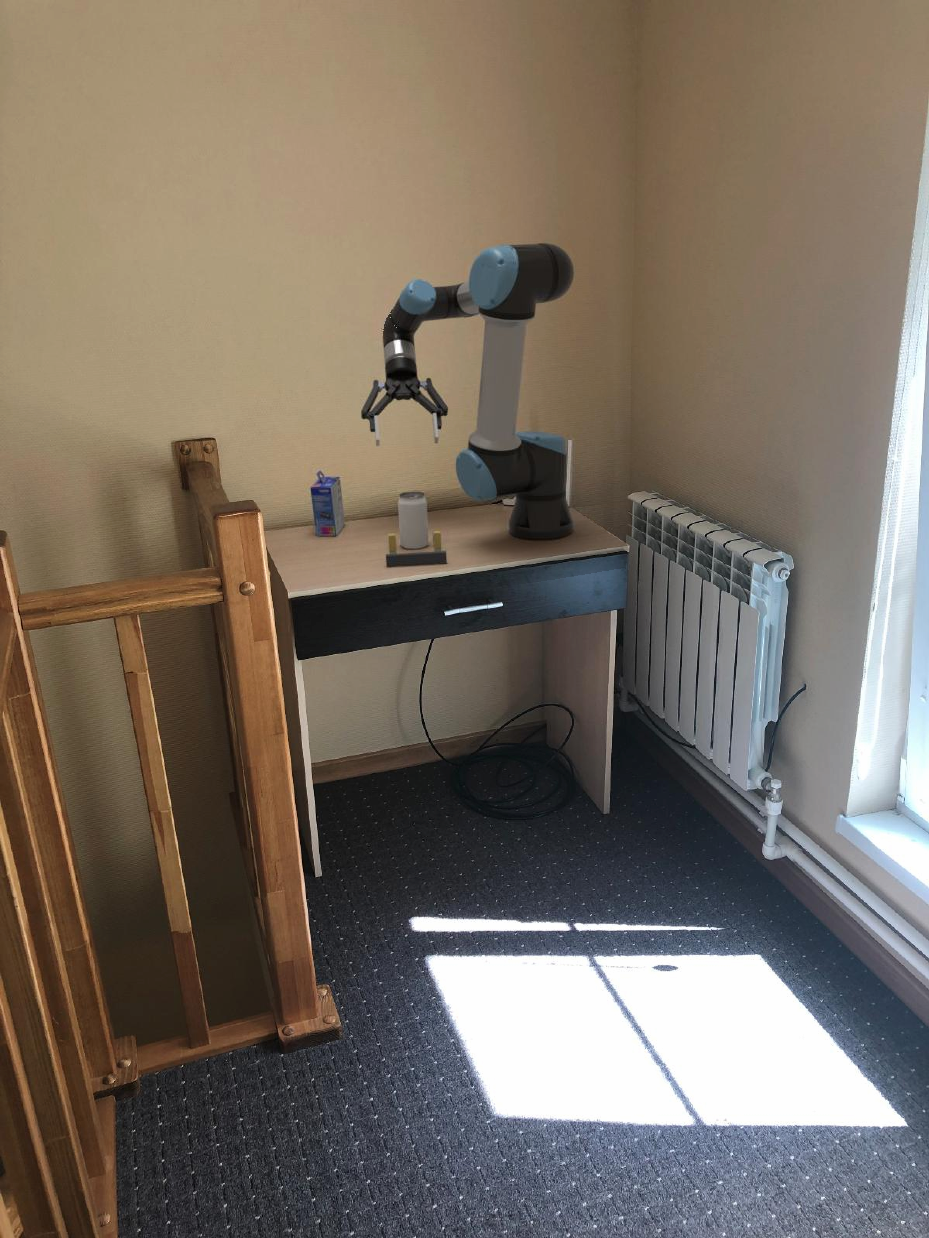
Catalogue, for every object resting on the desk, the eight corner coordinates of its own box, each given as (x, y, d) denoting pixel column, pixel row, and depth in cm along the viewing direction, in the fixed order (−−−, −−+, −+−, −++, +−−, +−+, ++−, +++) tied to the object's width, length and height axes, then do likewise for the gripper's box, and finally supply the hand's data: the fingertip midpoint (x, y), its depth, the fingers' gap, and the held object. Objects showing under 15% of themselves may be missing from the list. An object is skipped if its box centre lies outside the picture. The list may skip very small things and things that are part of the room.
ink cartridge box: (323, 524, 253) (318, 467, 248) (345, 524, 252) (340, 466, 247) (314, 536, 244) (308, 477, 239) (337, 536, 243) (331, 476, 238)
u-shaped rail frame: (441, 537, 240) (440, 516, 238) (446, 563, 222) (445, 541, 220) (386, 540, 239) (384, 520, 237) (386, 567, 221) (385, 544, 219)
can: (434, 546, 234) (431, 495, 229) (409, 551, 230) (406, 499, 226) (419, 539, 239) (417, 489, 234) (395, 544, 236) (392, 494, 231)
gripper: (451, 372, 249) (459, 447, 242) (348, 376, 247) (353, 452, 239) (453, 353, 242) (462, 430, 235) (347, 357, 240) (352, 435, 232)
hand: (407, 441), depth 237 cm, fingers open, 13 cm apart
